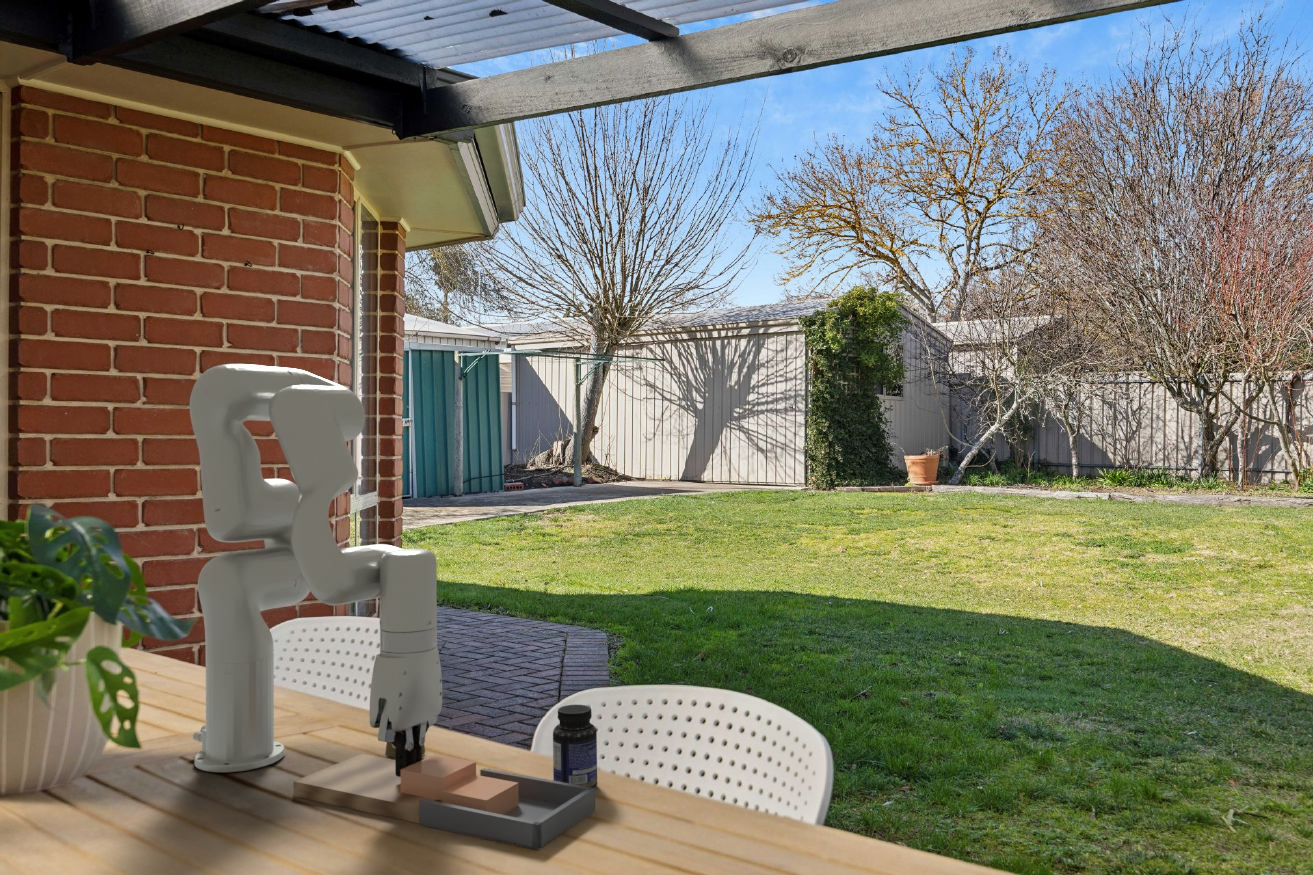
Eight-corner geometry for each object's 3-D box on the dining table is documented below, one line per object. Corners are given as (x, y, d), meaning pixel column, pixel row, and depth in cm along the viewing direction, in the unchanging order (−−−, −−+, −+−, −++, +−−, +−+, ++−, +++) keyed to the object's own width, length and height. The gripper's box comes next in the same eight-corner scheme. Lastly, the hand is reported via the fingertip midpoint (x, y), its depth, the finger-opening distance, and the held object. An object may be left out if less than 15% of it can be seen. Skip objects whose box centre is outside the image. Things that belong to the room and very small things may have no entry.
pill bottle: (603, 782, 138) (603, 704, 138) (586, 797, 132) (586, 716, 132) (564, 778, 140) (563, 701, 140) (545, 792, 134) (545, 712, 134)
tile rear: (400, 792, 129) (400, 769, 129) (435, 775, 135) (435, 754, 135) (442, 800, 125) (442, 777, 125) (476, 783, 132) (476, 761, 132)
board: (293, 795, 133) (293, 781, 133) (361, 767, 145) (361, 753, 145) (420, 823, 123) (420, 807, 123) (482, 790, 135) (482, 775, 135)
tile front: (442, 814, 125) (442, 791, 125) (475, 796, 132) (475, 774, 132) (486, 824, 122) (486, 800, 122) (518, 805, 128) (518, 782, 128)
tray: (419, 824, 123) (418, 800, 123) (483, 789, 135) (483, 767, 135) (537, 850, 115) (537, 824, 115) (595, 810, 127) (595, 787, 127)
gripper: (422, 628, 141) (422, 755, 141) (347, 648, 127) (347, 789, 127) (464, 633, 137) (465, 763, 137) (392, 654, 124) (392, 798, 124)
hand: (408, 775), depth 132 cm, fingers closed
